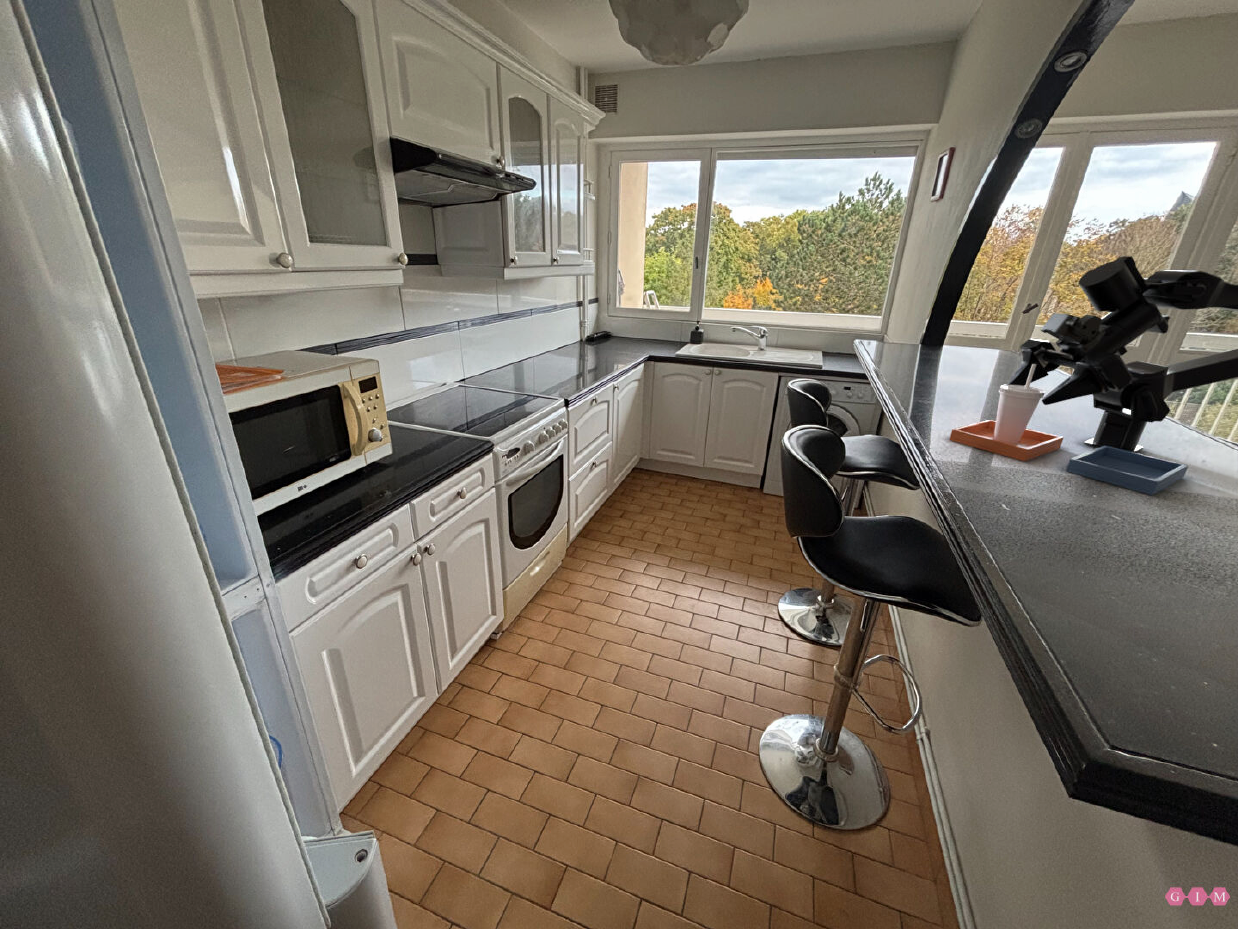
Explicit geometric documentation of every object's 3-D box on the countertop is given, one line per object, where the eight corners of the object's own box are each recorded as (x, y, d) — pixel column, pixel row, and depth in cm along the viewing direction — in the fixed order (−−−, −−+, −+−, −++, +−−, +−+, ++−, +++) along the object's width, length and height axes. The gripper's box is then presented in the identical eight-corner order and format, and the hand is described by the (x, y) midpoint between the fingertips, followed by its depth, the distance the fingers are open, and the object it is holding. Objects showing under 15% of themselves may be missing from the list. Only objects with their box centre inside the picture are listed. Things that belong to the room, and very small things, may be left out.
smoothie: (1023, 449, 87) (1050, 369, 82) (980, 440, 92) (1003, 363, 86) (1030, 441, 92) (1056, 364, 86) (988, 433, 96) (1011, 359, 91)
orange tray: (985, 429, 100) (988, 419, 99) (1059, 448, 90) (1064, 437, 89) (948, 440, 94) (951, 429, 93) (1024, 461, 84) (1028, 449, 83)
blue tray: (1099, 457, 86) (1104, 445, 86) (1183, 477, 78) (1188, 465, 77) (1065, 471, 80) (1070, 458, 79) (1152, 495, 72) (1158, 482, 71)
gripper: (1047, 292, 91) (967, 353, 95) (1142, 300, 73) (1039, 374, 78) (1077, 338, 93) (998, 395, 98) (1176, 355, 76) (1074, 424, 80)
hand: (1024, 396), depth 88 cm, fingers open, 9 cm apart
